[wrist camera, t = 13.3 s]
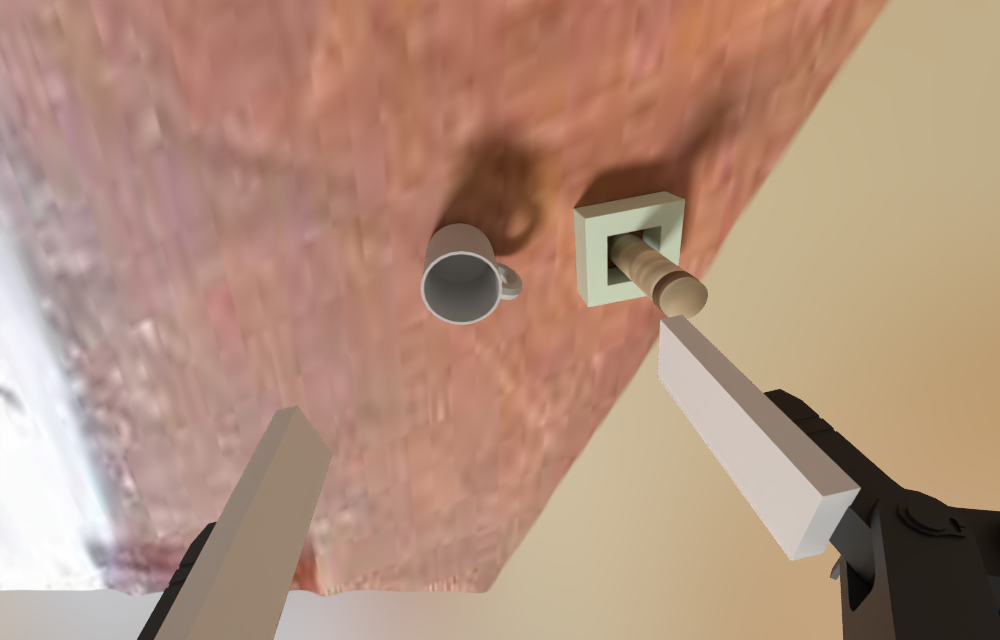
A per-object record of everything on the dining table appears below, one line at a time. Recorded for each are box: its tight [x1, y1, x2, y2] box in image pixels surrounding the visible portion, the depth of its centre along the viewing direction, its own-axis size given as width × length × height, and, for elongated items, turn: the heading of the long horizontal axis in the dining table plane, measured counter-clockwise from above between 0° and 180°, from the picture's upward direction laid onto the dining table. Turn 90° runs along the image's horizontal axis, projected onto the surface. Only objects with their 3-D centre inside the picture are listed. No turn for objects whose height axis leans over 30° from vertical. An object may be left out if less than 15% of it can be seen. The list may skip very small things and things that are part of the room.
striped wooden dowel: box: [607, 232, 708, 319], centre depth 36 cm, size 4×4×14 cm
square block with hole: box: [573, 191, 685, 307], centre depth 40 cm, size 10×10×4 cm
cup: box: [421, 223, 522, 325], centre depth 37 cm, size 7×10×9 cm
